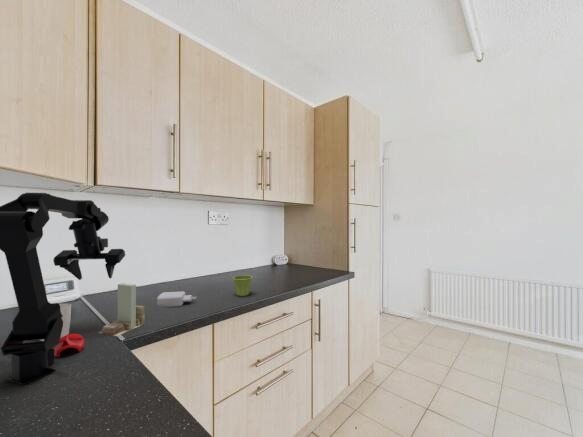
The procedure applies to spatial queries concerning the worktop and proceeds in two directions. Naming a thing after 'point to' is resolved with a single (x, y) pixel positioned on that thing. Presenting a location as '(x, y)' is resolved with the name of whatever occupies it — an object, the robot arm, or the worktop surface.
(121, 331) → the offcut bottom
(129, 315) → the grey-green flat block
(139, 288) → the worktop surface
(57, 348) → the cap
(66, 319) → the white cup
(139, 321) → the offcut rack
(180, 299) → the white dispenser bottle
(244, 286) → the plant pot
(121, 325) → the offcut top
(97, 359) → the worktop surface
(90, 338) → the worktop surface
